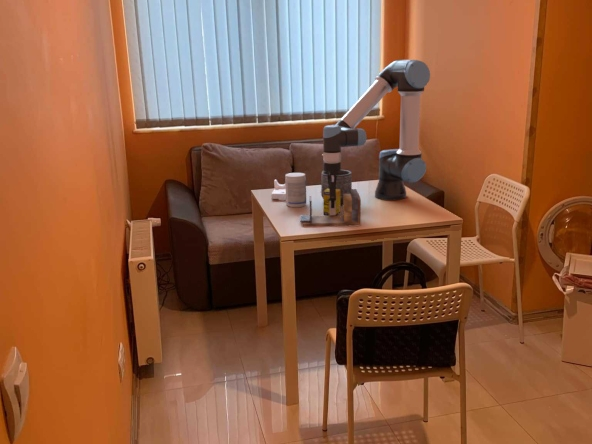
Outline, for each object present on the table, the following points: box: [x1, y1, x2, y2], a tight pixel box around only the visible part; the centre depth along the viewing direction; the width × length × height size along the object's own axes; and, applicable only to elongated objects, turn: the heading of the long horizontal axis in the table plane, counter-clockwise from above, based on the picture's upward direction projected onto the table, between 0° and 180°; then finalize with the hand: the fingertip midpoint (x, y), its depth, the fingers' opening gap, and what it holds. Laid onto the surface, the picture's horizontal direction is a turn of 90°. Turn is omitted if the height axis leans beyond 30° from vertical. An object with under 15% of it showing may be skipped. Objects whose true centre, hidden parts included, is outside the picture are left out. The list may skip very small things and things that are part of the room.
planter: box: [320, 169, 353, 207], centre depth 277 cm, size 14×14×15 cm
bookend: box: [299, 195, 313, 223], centre depth 249 cm, size 5×8×9 cm, turn 179°
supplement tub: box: [284, 172, 307, 208], centre depth 275 cm, size 10×10×15 cm
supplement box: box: [322, 188, 341, 216], centre depth 260 cm, size 6×6×11 cm
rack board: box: [301, 188, 362, 227], centre depth 248 cm, size 24×11×13 cm, turn 89°
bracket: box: [271, 179, 286, 201], centre depth 292 cm, size 13×7×8 cm, turn 174°
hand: (331, 212), depth 260 cm, fingers open, 10 cm apart
